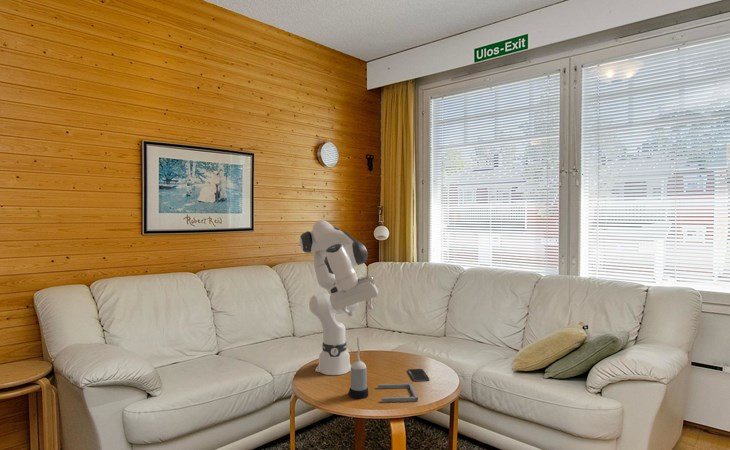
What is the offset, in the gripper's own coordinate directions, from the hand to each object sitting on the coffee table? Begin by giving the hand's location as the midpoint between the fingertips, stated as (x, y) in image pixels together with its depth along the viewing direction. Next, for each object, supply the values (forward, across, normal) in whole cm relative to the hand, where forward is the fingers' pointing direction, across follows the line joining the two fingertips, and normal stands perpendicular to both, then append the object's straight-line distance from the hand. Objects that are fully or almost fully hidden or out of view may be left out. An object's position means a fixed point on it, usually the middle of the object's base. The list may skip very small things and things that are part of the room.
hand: (360, 312), depth 189 cm
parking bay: (+40, 0, -1) cm, 40 cm away
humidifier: (+34, +14, +3) cm, 37 cm away
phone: (+48, -6, -25) cm, 54 cm away
